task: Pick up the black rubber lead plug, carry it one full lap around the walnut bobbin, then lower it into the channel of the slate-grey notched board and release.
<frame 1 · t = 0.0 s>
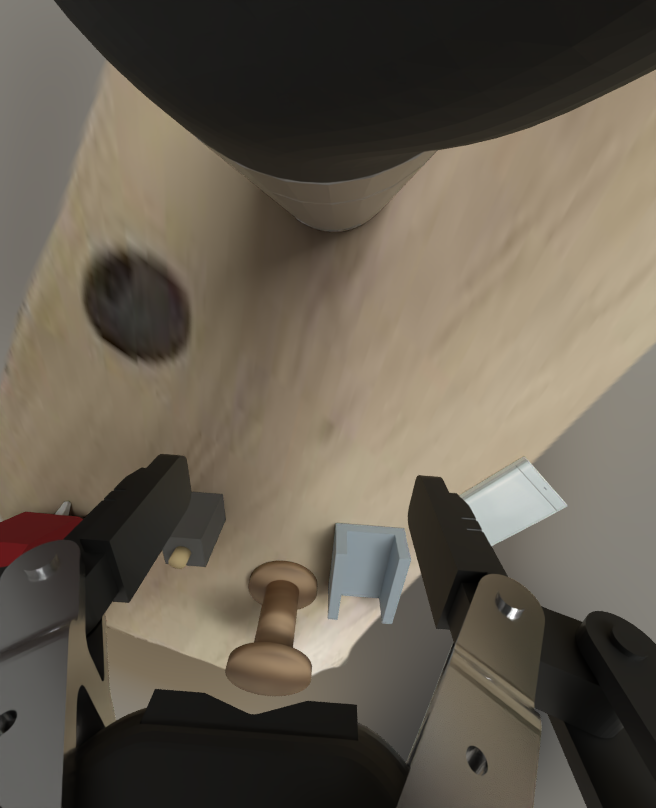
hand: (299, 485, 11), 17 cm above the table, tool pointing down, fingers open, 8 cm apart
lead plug: (207, 505, 35), on the table
bobbin: (283, 583, 41), on the table
hard drive: (488, 504, 34), on the table
notched board: (363, 559, 38), on the table
red toy figure: (91, 530, 38), on the table
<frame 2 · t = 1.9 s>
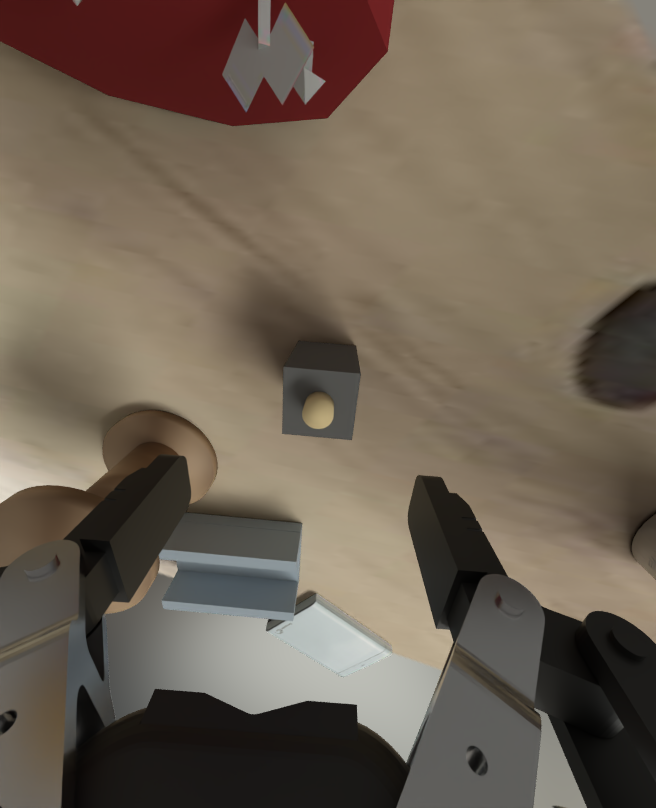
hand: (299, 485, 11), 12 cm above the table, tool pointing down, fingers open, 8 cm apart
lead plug: (325, 370, 22), on the table
bobbin: (164, 457, 26), on the table
hard drive: (330, 627, 36), on the table
notched board: (239, 547, 30), on the table
red toy figure: (233, 83, 16), on the table
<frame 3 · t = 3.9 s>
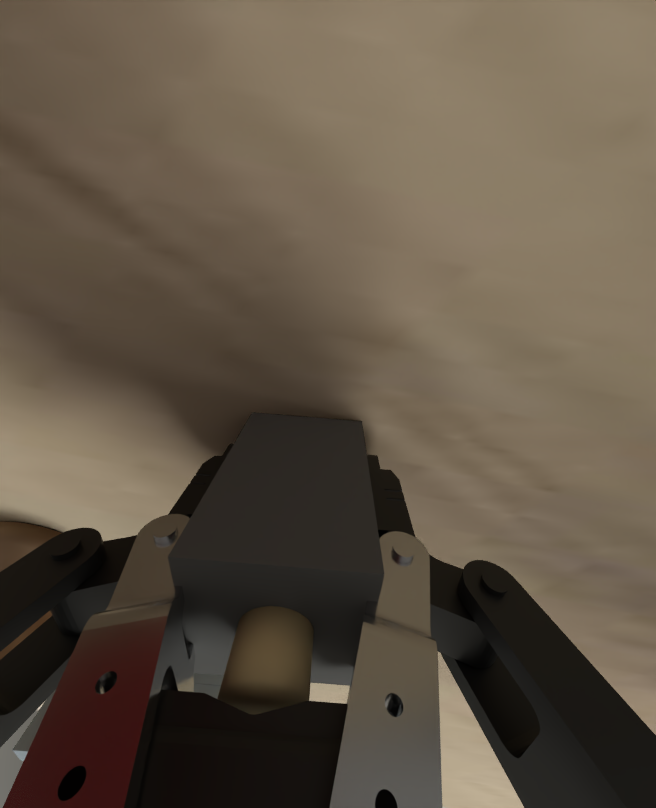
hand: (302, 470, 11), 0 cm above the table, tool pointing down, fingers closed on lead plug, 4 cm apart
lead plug: (304, 462, 12), on the table, touching gripper
bobbin: (45, 586, 16), on the table
notched board: (185, 694, 20), on the table
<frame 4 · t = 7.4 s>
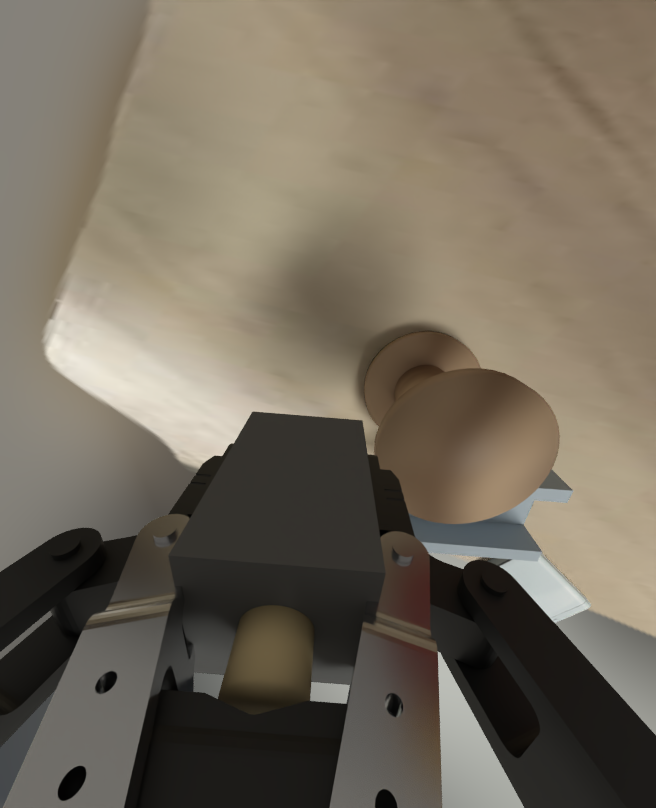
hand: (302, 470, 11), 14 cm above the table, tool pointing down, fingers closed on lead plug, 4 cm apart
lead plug: (305, 461, 12), point 13 cm above the table, touching gripper
bobbin: (419, 387, 25), on the table
hard drive: (520, 580, 35), on the table
notched board: (463, 490, 29), on the table
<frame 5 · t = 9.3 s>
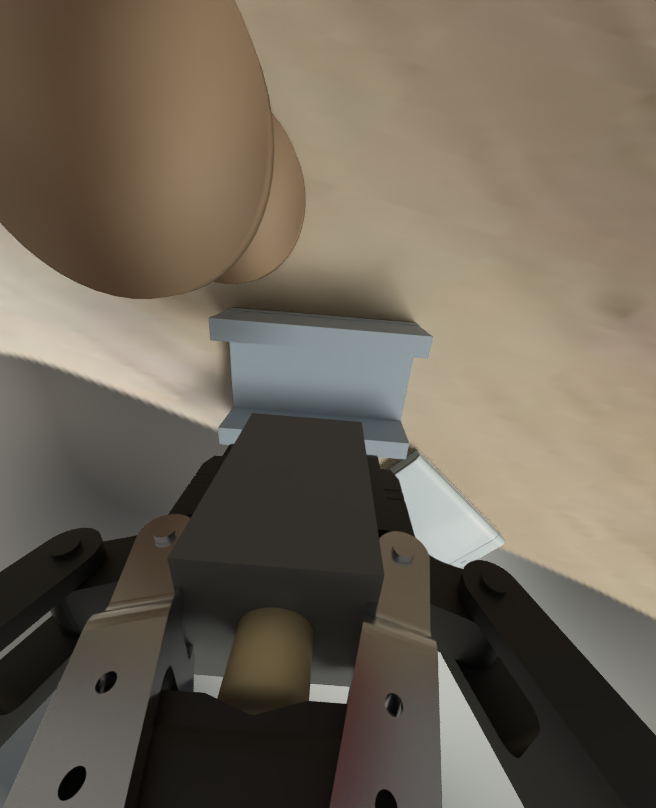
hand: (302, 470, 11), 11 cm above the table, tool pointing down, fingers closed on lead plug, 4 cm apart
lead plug: (304, 462, 12), point 11 cm above the table, touching gripper
bobbin: (226, 197, 17), on the table
hard drive: (420, 512, 27), on the table
notched board: (320, 373, 21), on the table
when the fingers open (3 cm above the table, at t = 10.7 s): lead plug drops 2 cm, resting on notched board.
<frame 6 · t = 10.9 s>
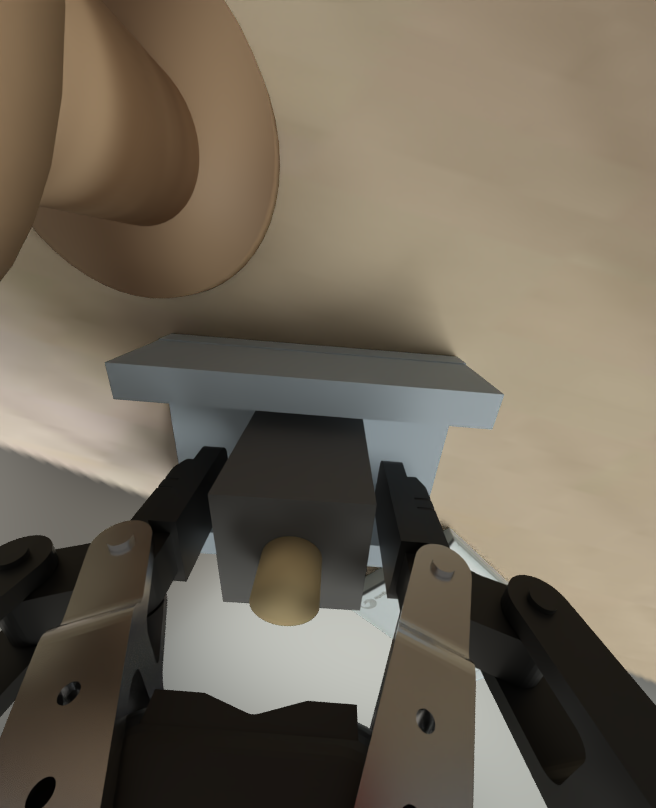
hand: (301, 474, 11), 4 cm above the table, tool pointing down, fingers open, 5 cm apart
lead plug: (310, 439, 13), point 1 cm above the table, touching notched board
bobbin: (146, 154, 10), on the table
hard drive: (448, 599, 20), on the table
notched board: (309, 428, 14), on the table
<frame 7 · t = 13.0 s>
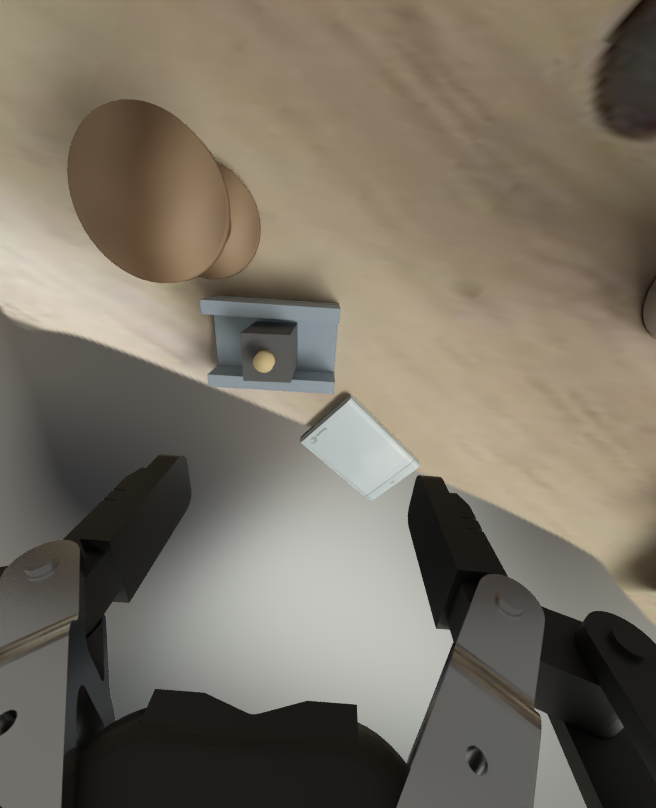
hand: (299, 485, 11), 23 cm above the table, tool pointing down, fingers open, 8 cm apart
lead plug: (277, 342, 30), point 1 cm above the table, touching notched board
bobbin: (209, 224, 27), on the table
hard drive: (360, 446, 37), on the table
notched board: (277, 340, 31), on the table
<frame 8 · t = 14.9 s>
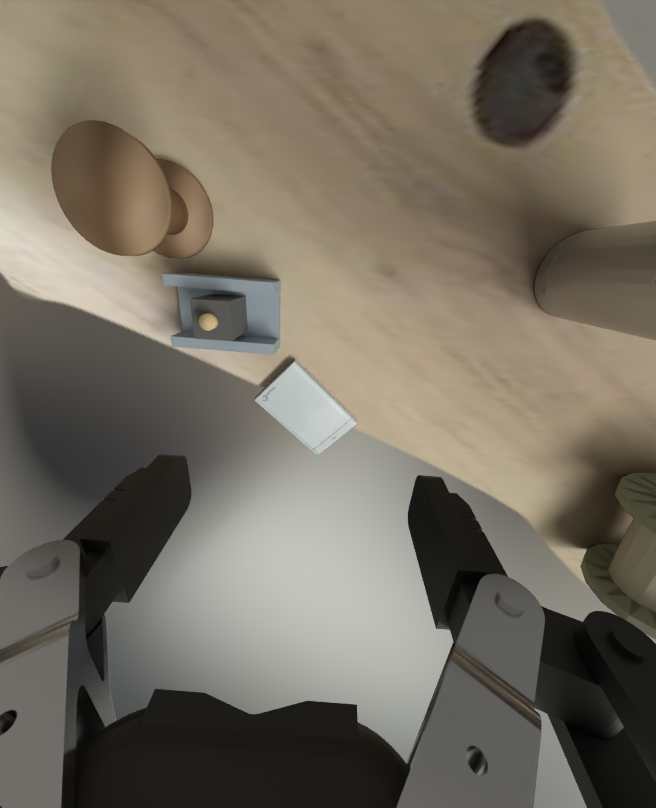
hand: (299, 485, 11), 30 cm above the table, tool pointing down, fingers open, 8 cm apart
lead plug: (230, 312, 37), point 1 cm above the table, touching notched board
bobbin: (172, 213, 33), on the table
hard drive: (307, 406, 44), on the table
spool: (622, 513, 49), on the table
notched board: (231, 311, 38), on the table
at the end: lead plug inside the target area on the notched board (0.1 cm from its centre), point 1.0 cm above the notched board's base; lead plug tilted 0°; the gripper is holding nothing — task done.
